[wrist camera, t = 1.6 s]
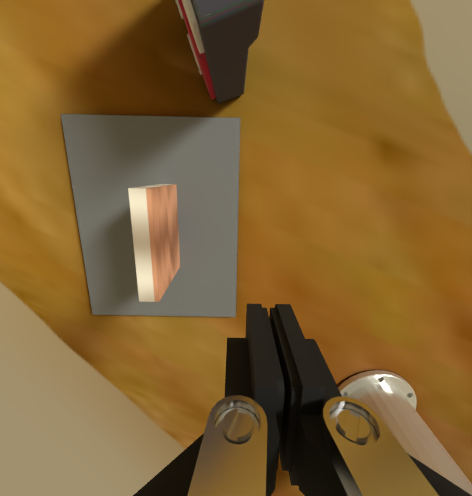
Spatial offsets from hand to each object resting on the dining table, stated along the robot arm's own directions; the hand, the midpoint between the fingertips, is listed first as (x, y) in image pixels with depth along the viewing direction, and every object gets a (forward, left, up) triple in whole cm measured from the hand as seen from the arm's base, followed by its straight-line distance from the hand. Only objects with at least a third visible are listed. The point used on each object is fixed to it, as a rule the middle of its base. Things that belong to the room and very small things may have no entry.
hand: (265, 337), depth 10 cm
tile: (0, +9, -21) cm, 23 cm away
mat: (0, +10, -22) cm, 24 cm away
